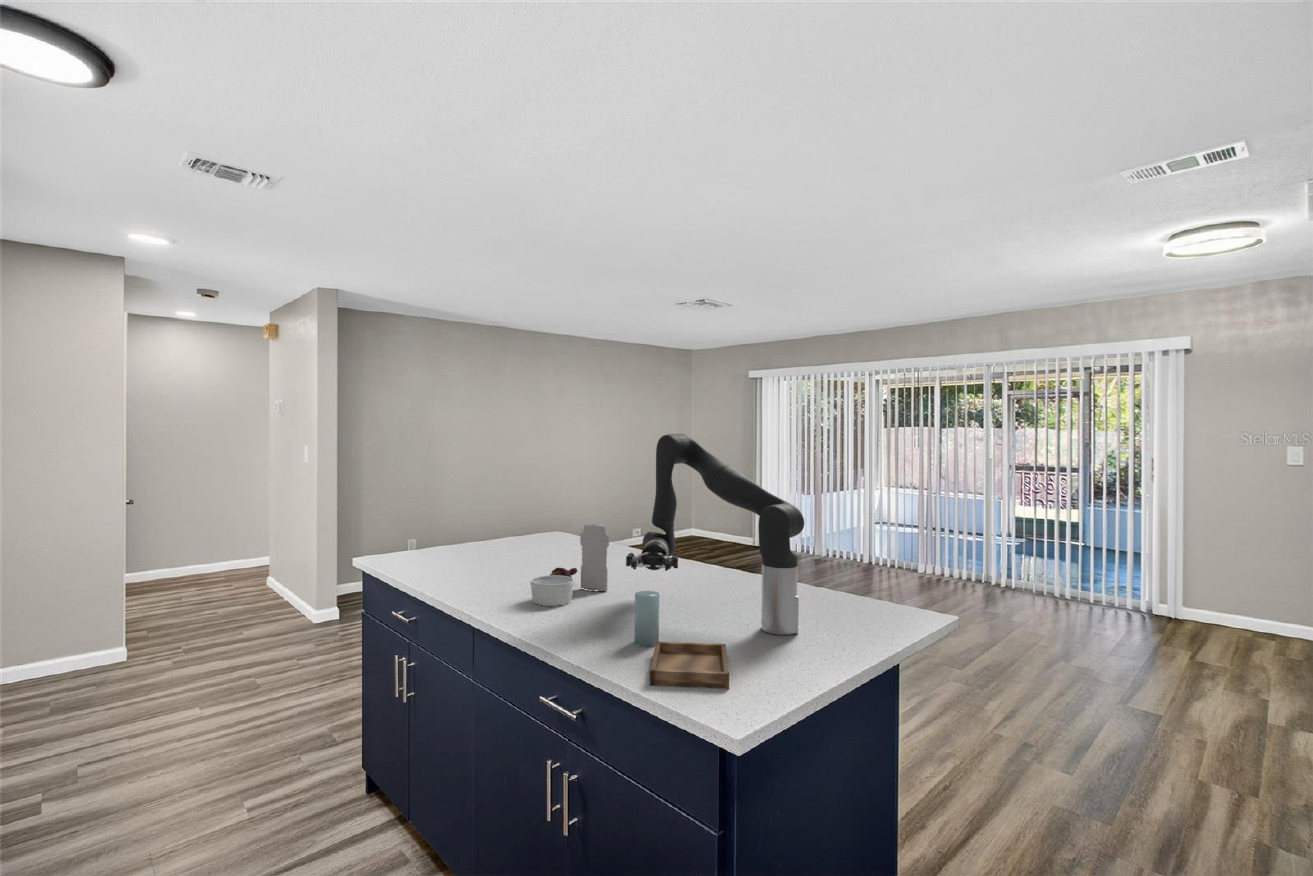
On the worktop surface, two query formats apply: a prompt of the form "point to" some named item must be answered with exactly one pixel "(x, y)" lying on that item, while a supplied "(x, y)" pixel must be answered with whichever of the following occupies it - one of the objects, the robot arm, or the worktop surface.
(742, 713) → the worktop surface
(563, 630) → the worktop surface
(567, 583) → the ramekin
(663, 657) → the tray
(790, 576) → the robot arm
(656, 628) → the pale blue cylinder
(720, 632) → the worktop surface
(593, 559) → the tall pale column
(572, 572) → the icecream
